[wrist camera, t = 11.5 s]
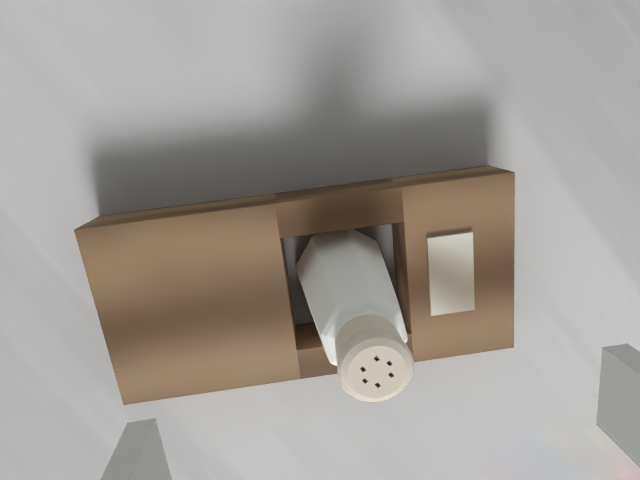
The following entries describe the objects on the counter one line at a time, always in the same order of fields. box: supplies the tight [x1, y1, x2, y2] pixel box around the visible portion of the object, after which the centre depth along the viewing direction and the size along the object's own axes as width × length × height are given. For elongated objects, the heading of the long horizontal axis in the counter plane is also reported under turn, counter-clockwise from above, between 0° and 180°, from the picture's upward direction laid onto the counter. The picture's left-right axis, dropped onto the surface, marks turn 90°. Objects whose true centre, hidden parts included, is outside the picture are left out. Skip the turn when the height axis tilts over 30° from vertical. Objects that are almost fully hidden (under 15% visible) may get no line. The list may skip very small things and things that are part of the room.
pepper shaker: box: [295, 229, 414, 402], centre depth 21 cm, size 5×5×11 cm
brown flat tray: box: [74, 166, 515, 405], centre depth 25 cm, size 10×22×3 cm, turn 97°
